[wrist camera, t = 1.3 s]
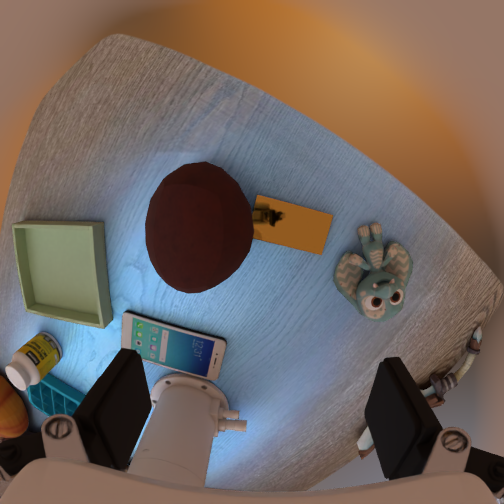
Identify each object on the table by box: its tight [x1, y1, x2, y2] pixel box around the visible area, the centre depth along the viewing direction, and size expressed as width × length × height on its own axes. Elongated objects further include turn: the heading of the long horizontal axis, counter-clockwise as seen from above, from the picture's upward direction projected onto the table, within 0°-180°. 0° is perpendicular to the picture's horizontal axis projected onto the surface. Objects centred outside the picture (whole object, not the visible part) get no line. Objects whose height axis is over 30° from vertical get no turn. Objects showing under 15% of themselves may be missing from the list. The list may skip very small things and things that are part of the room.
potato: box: [145, 161, 254, 293], centre depth 30 cm, size 11×13×10 cm
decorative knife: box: [357, 326, 482, 459], centre depth 39 cm, size 4×9×30 cm
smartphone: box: [121, 311, 227, 381], centre depth 39 cm, size 7×1×15 cm
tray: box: [12, 221, 113, 329], centre depth 36 cm, size 16×14×3 cm
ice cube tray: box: [27, 373, 86, 417], centre depth 44 cm, size 12×20×3 cm, turn 69°
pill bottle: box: [6, 332, 62, 391], centre depth 36 cm, size 6×6×11 cm
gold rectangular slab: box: [252, 194, 333, 255], centre depth 34 cm, size 9×1×5 cm
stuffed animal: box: [333, 223, 413, 322], centre depth 33 cm, size 11×7×12 cm
